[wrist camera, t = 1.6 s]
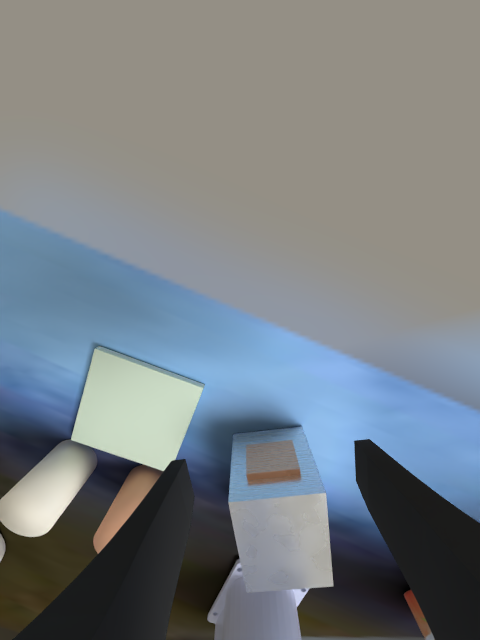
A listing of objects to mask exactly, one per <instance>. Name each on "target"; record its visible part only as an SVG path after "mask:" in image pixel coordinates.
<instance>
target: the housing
mask: <svg viewBox="0 0 480 640" xmlns="http://www.w3.org/2000/svg"><path fill="white" fill-rule="evenodd" d="M228 503H229V508H230V513H231V518H232V523H233V528H234V533H235V538H236V543H237V548H238V553H239V558H240V563H241V568H242V573H243V578H244V583H245V588H246V593H252V592H265V591H278V590H291V589H305V588H318V587H331V586H333V575H332V562H331V550H330V537H329V525H328V513H327V500H326V492H325V489H324V486H323V483H322V481H321V478H320V475H319V472H318V469H317V467H316V464H315V461H314V458H313V455H312V452H311V450H310V447H309V444H308V441H307V438H306V436H305V433H304V430H303V427H302V426H300V427H291V428H283V429H274V430H265V431H256V432H247V433H238V434H233V444H232V458H231V473H230V487H229V501H228Z"/></svg>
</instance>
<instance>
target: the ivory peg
mask: <svg viewBox="0 0 480 640" xmlns="http://www.w3.org/2000/svg"><path fill="white" fill-rule="evenodd" d="M96 466H97V456H96V453H95V452H94V450H93V449H92V448H91V447H90V446H87V445H84V444H81V443H78V442H75V441H72V440H65V441H62V442H61V443H59V444H58V445H57V446H56V447H55V448H54V449H53V450H52V451H51V452H50V453H49V454H48V455H46V456H45V457H44V458H43V459H42V460H41V461H40V462H39V463H38V464H37V465H36V466H35V467H34V468H33V469H32V470H31V471H30V472H29V473H28V474H27V475H26V476H25V477H23V478H22V479H21V480H20V481H19V482H18V483H17V484H16V485H15V486H14V487H13V488H12V489H11V490H10V491H9V492H8V493H7V494H6V495H5V496H4V497H3V498H1V500H0V521H1V522H2V524H3V525H4V526H5V527H7V528H8V529H9V530H11V531H12V532H14V533H16V534H19V535H22V536H27V537H37V536H41V535H44V534H46V533H47V532H48V531H49V530H50V529H51V528H52V527H53V525H54V524H55V522H56V521H57V520H58V518H59V517H60V516H61V514H62V513H63V512H64V510H65V509H66V508H67V506H68V505H69V504H70V502H71V501H72V499H73V498H74V497H75V495H76V494H77V493H78V491H79V490H80V489H81V487H82V486H83V485H84V483H85V482H86V481H87V479H88V478H89V476H90V475H91V474H92V472H93V471H94V470H95V468H96Z"/></svg>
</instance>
